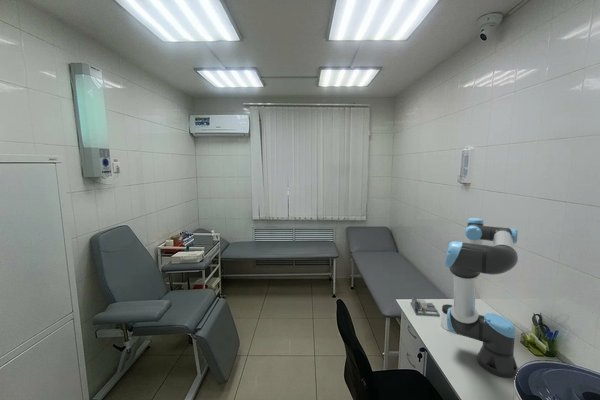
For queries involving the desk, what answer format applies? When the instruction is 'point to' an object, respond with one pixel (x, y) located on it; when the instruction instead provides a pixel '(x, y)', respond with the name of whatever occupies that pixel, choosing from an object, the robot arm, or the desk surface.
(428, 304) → the bench
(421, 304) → the block
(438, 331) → the desk surface
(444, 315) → the jar
